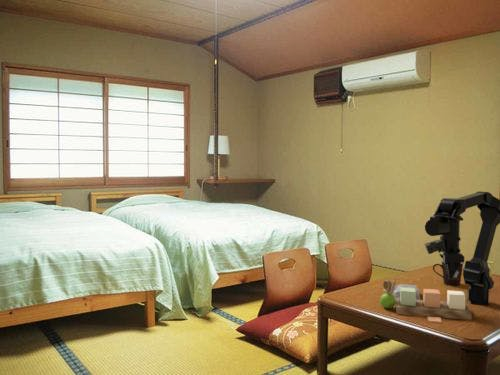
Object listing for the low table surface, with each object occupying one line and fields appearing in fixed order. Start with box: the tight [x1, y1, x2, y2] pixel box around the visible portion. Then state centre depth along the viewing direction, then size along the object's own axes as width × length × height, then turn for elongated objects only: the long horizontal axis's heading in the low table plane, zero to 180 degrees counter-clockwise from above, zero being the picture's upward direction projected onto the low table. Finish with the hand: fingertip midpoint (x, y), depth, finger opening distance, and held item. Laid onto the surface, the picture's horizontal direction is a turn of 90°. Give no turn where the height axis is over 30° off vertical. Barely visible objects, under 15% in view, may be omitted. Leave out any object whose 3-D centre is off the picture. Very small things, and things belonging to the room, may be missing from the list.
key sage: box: [400, 287, 416, 306], centre depth 160 cm, size 5×5×5 cm
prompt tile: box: [427, 316, 443, 324], centre depth 150 cm, size 4×4×1 cm
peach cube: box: [422, 288, 441, 308], centre depth 158 cm, size 5×5×5 cm
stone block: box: [392, 283, 421, 300], centre depth 178 cm, size 12×5×10 cm
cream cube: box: [446, 289, 466, 310], centre depth 156 cm, size 5×5×5 cm
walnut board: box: [394, 298, 473, 321], centre depth 159 cm, size 24×11×2 cm, turn 74°
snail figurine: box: [379, 277, 397, 309], centre depth 162 cm, size 5×6×12 cm
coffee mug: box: [432, 259, 464, 287], centre depth 195 cm, size 12×9×10 cm
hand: (449, 276), depth 160 cm, fingers open, 4 cm apart
